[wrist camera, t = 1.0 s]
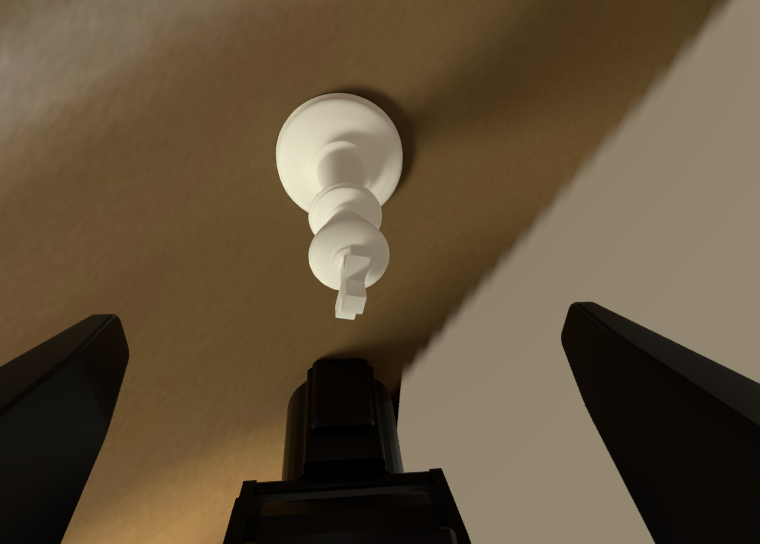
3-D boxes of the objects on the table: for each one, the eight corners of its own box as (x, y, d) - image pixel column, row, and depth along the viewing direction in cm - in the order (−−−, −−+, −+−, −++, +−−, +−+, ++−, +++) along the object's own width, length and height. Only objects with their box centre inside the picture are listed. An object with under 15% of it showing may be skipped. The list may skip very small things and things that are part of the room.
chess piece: (268, 204, 19) (224, 377, 11) (286, 78, 17) (247, 171, 8) (385, 225, 20) (429, 398, 12) (416, 109, 18) (502, 221, 9)
